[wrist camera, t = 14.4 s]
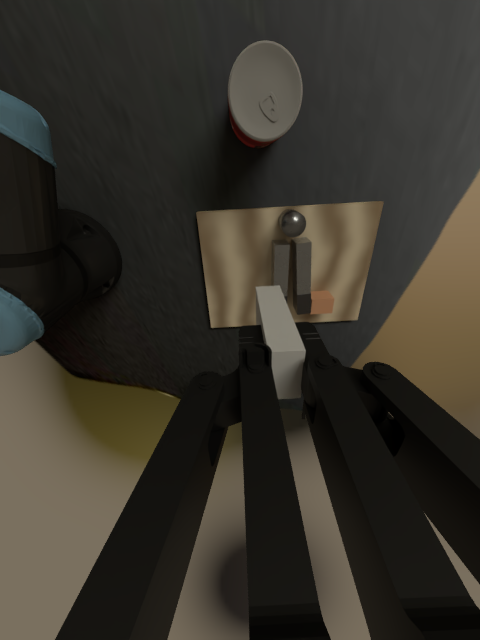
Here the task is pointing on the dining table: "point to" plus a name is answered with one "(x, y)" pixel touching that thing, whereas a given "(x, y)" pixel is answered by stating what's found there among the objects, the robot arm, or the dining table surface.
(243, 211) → the board
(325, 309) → the orange block
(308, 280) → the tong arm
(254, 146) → the canned food
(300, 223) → the tongs fixed
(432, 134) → the dining table surface
